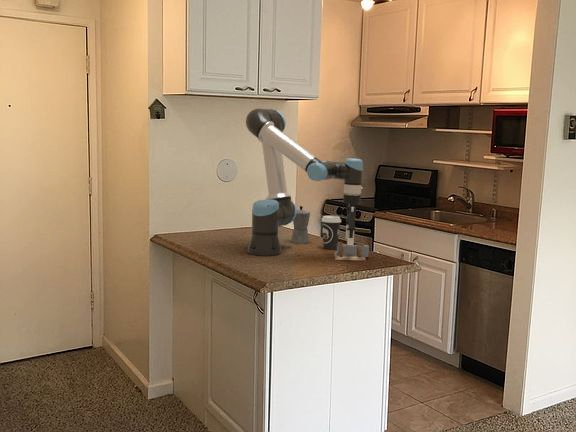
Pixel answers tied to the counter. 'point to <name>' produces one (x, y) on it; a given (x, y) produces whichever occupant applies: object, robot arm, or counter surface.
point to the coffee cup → (330, 231)
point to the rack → (349, 256)
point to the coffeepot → (300, 227)
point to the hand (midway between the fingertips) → (349, 242)
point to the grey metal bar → (353, 250)
